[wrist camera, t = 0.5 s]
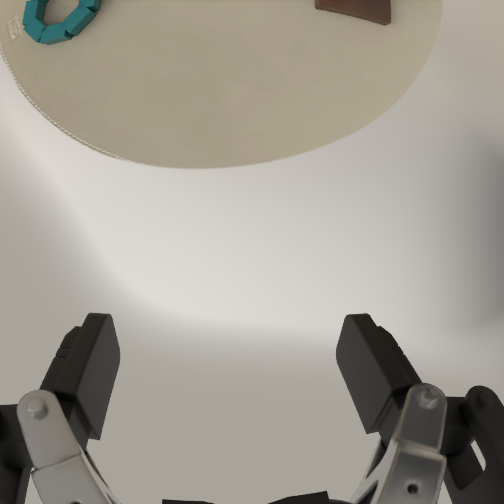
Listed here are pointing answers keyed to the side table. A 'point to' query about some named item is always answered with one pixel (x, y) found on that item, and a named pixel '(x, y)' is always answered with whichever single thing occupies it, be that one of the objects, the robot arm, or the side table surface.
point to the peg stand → (359, 9)
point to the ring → (59, 31)
